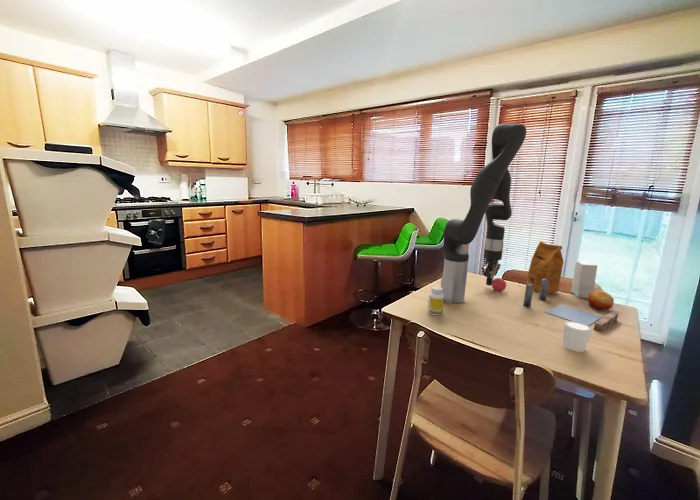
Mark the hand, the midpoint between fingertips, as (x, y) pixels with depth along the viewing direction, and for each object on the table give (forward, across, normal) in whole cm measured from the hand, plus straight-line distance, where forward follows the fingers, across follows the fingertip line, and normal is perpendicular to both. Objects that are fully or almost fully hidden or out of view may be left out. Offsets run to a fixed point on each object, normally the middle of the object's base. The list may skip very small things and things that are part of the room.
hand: (489, 284), depth 148 cm
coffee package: (+2, +18, -16) cm, 24 cm away
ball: (-2, 0, -5) cm, 5 cm away
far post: (+2, +5, -21) cm, 22 cm away
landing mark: (+2, -2, -35) cm, 35 cm away
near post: (+2, -8, -20) cm, 22 cm away
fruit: (+2, +14, -38) cm, 41 cm away
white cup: (+2, -30, -43) cm, 52 cm away
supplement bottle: (+2, -43, -2) cm, 43 cm away
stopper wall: (+2, -2, -45) cm, 45 cm away
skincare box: (+2, +25, -29) cm, 39 cm away
